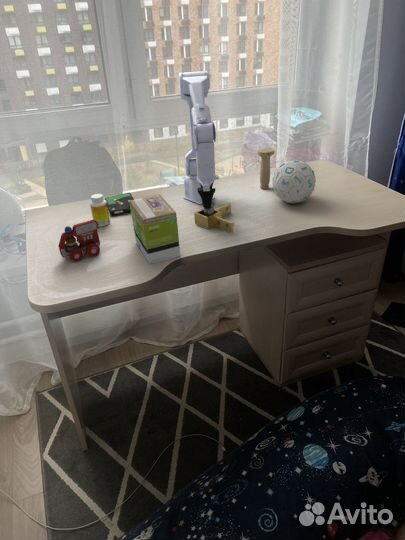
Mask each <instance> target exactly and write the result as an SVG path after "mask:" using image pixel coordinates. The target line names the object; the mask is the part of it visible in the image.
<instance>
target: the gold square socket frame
mask: <svg viewBox="0 0 405 540" xmlns="http://www.w3.org/2000/svg"><path fill="white" fill-rule="evenodd" d="M231 213H232V203H231V202H229V203H226V204H224V205H222V206H219V207H217V208H214V214H213V215H211V216H209V217H206V216H204V208H202V209H200V210H198V211H195V212H194V213H193V216H194V217H193V219H194V224H195V225H197V226H200V227H202V228H204V229H207V230H210V229H211V228H213V227H215V228H218V229H220V230H223V231H225V232H227V233H230V234H234V229H235V228H234V223H235V222H233V221H230V220H228V219H225V218H223V217H226V216H228V215H229V214H231Z"/></svg>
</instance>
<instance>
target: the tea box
mask: <svg viewBox="0 0 405 540" xmlns="http://www.w3.org/2000/svg"><path fill="white" fill-rule="evenodd" d="M129 202H130V209H131V213H130V215H131V220H132V225H133V232H134V236H135V237H134V238H135V242H136V244H137V246H138V247H139V250H141V252H142V255H143V256H144V257H145V259H146V261H147V263H148V264H149V265H152V264H155V263H159V262H164V261H167V260H171V258H172V259H175V258H179V257H180V256H181V248H180V239H179V238H180V237H179V228H178V217H177V212H176V210H175V209H174V208H173V207H172V206H171V205H170V204H169V203H168V202H167V201H166V200H165V199H164V197H163V196H162V195H161V194H160V193H159V194H153V195H149V196H144V197H141V198H134V200H129Z"/></svg>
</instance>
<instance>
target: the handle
mask: <svg viewBox="0 0 405 540" xmlns="http://www.w3.org/2000/svg"><path fill="white" fill-rule="evenodd" d="M274 154H275V149H274V148H268V147H267V148H260V149H257V155H258V156H259V157H260V158H261V159H260V168H259V169H260V171H259V184H260V185H259V187H260V189H262V190H267V189H269V187H270V185H269V184H270V182H271V181H270V179H271V156H274Z"/></svg>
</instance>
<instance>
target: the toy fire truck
mask: <svg viewBox="0 0 405 540" xmlns="http://www.w3.org/2000/svg"><path fill="white" fill-rule="evenodd" d="M98 228H99V226H98V223H97V221H96V220H93V219H90V220H87V221H83V222H80V223H76V224H73V226H72V227H71V226H67V225H66V226H65V227H64V232H62V233H61V235H60V239H59V241H58V246H57V247H58V250H59V253H60V256H61V257H62V258H68V257H69V259H70V261H72V262H74V263H77V262H80V261H81V260H83V258H84V252H85V254H87V256H88V257H90V258H95V257H97V256H98V255H99V254H100V252H101V247H100V246H101V240H100V236H99V231H98Z"/></svg>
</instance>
